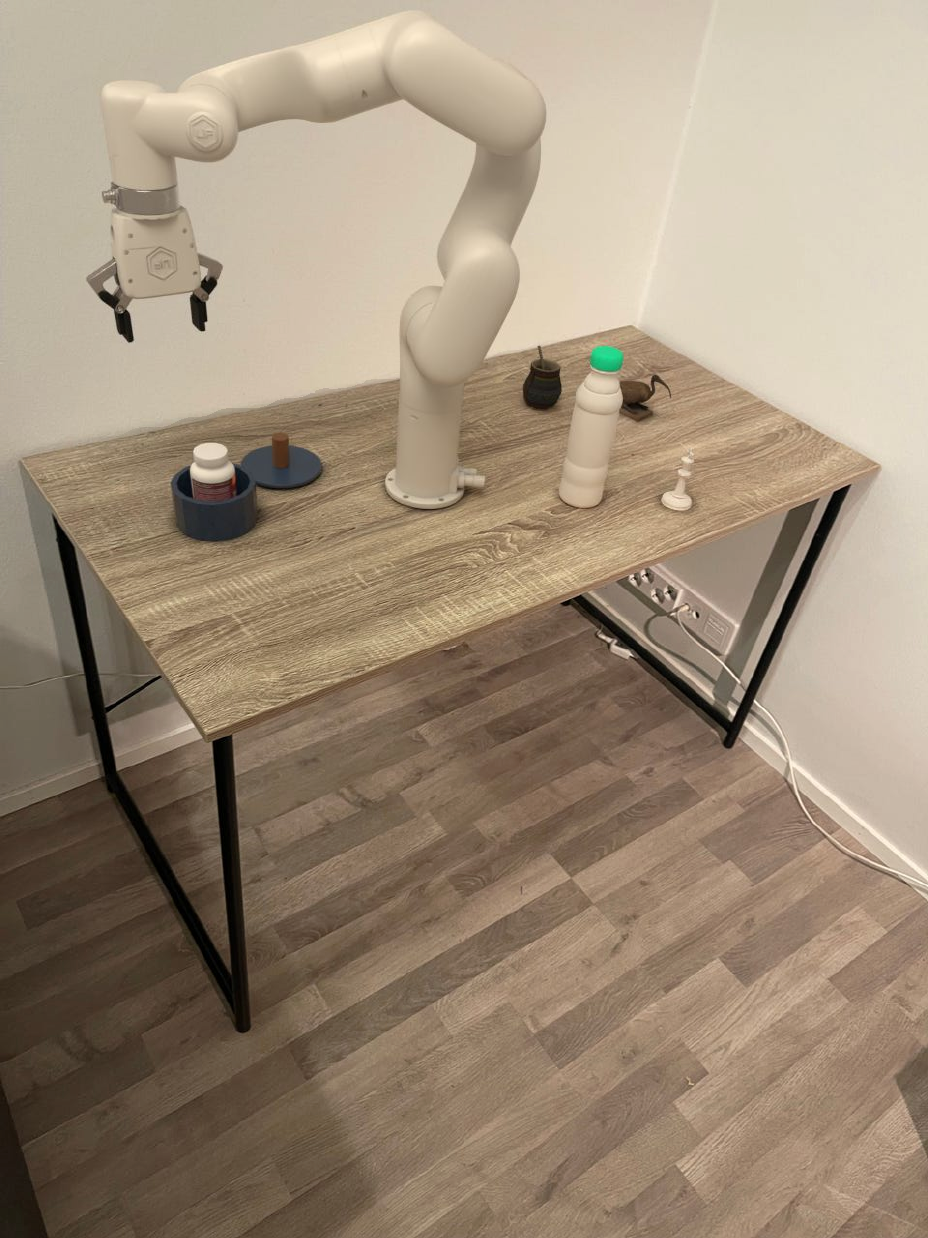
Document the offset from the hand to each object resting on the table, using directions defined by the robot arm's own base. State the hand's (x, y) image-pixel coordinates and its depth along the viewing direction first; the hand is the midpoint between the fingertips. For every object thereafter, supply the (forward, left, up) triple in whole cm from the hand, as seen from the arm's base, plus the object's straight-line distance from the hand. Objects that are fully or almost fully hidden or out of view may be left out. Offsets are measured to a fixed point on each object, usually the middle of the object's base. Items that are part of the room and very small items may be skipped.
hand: (164, 332), depth 125 cm
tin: (-6, +5, -26) cm, 27 cm away
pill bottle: (-6, +5, -26) cm, 27 cm away
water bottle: (-61, -9, -26) cm, 67 cm away
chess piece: (-77, -10, -26) cm, 82 cm away
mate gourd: (-56, -41, -26) cm, 74 cm away
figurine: (-74, -41, -26) cm, 88 cm away
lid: (-13, -10, -25) cm, 30 cm away
